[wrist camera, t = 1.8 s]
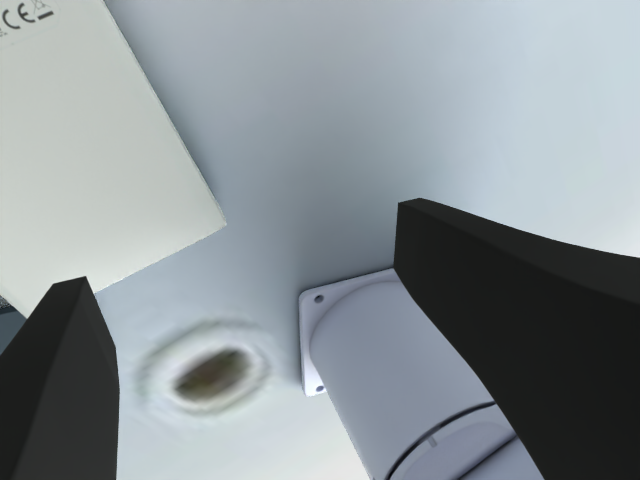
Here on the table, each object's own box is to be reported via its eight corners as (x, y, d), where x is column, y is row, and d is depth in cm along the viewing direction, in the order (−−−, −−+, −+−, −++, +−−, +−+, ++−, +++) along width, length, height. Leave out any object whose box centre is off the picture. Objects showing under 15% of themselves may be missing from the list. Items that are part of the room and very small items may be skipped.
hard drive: (35, 299, 18) (-345, -55, 10) (221, 207, 19) (4, -180, 11) (29, 326, 16) (-411, -56, 9) (229, 226, 17) (-10, -197, 10)
